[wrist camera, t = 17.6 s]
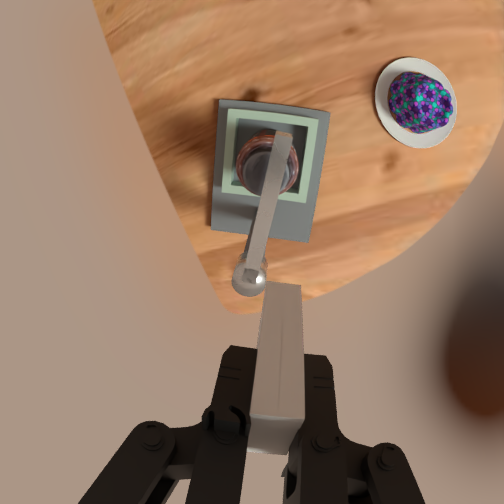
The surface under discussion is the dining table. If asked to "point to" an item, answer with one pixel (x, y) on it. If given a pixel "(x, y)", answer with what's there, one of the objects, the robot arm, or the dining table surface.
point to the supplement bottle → (263, 163)
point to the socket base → (246, 203)
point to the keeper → (262, 222)
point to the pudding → (416, 102)
